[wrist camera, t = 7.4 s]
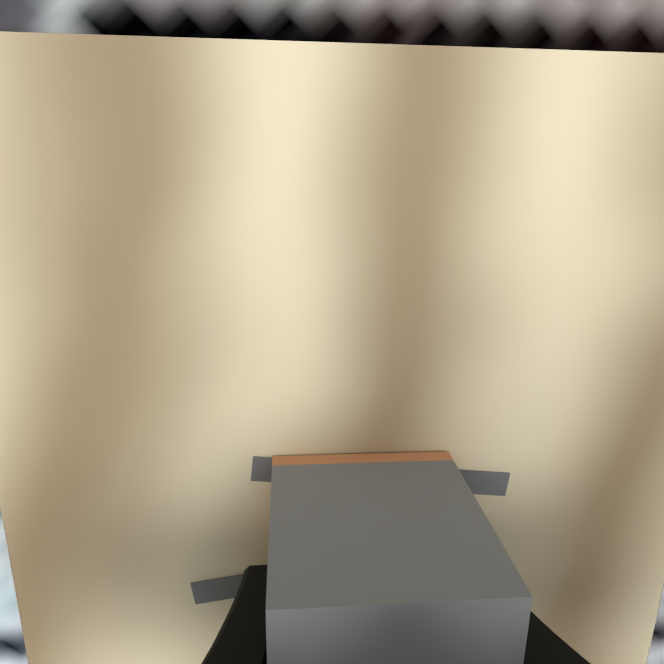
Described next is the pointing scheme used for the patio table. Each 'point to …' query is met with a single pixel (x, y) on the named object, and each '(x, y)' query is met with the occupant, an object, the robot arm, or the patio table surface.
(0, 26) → the patio table surface
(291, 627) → the block
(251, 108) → the board
